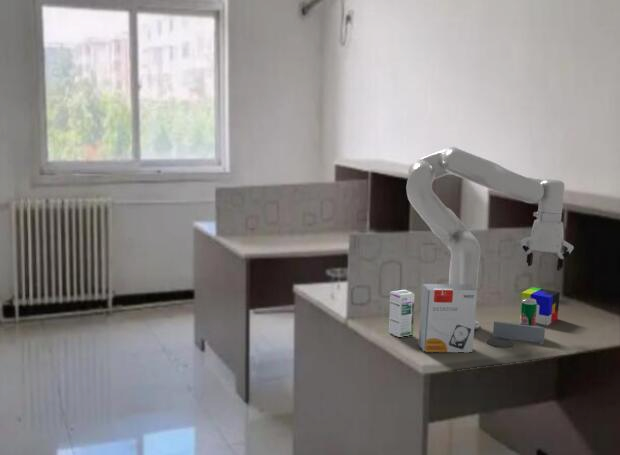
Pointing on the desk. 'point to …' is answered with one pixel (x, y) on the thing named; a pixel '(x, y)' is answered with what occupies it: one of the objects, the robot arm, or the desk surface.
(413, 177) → the robot arm
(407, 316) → the syrup box
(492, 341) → the coaster
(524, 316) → the soda can
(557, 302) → the puzzle toy
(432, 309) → the hard drive box
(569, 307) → the desk surface
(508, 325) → the divider
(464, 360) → the desk surface
